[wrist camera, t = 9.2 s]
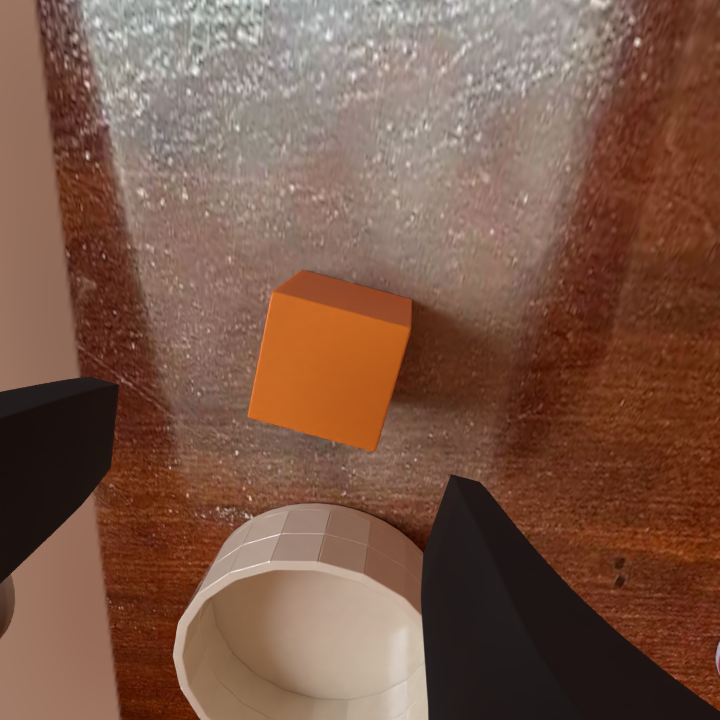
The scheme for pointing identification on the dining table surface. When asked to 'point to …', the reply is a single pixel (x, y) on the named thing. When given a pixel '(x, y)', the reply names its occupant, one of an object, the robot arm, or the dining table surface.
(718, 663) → the pill bottle
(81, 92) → the dining table surface
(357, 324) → the block
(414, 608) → the bowl
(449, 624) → the robot arm
